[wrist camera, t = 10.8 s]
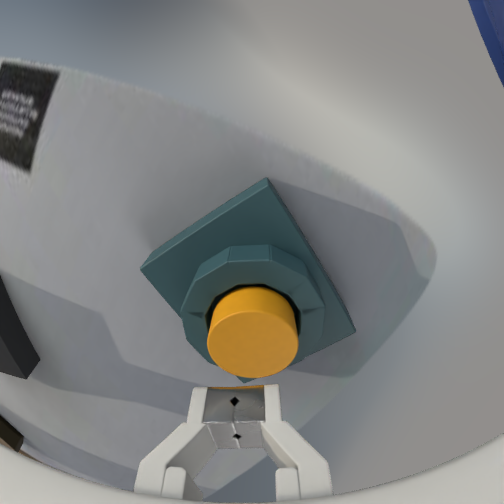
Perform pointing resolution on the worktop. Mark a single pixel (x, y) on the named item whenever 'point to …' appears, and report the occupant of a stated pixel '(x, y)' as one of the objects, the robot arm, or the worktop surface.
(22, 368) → the dark grey flat block
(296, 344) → the trigger button
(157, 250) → the teal button mount
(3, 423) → the bottle
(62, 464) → the worktop surface
